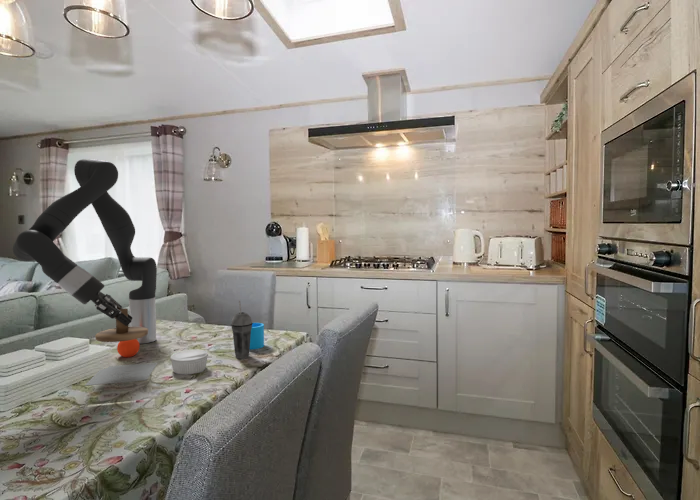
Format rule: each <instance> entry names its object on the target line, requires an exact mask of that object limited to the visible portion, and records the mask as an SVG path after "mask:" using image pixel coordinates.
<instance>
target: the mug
mask: <svg viewBox="0 0 700 500" xmlns="http://www.w3.org/2000/svg"><path fill="white" fill-rule="evenodd" d="M252 323H253V324H252V329H251V337H250V350H258V349H263V347H264V346H265V324H264V323H261V322H252Z"/></svg>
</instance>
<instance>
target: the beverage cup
mask: <svg viewBox="0 0 700 500" xmlns="http://www.w3.org/2000/svg"><path fill="white" fill-rule="evenodd" d="M238 307H239V312H238V313H236V314H235V315H233V317H232V319H231V324H230V327H231V331H232V337H233V339H232V340H233V346H234V347H233V348H234V354H235V358H236V359H239V360H242V359H243V360H244V359H248V358H249V357H250V352H251V351H250V350H251V349H250V337H251V329H252V324H253V323H254V322H253V319H252V317H251V316H250V315H249V314H248V313H247V312H242V307H241V299H239V300H238Z"/></svg>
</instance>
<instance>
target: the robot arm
mask: <svg viewBox="0 0 700 500" xmlns="http://www.w3.org/2000/svg"><path fill="white" fill-rule="evenodd" d="M73 172H74V176H75V179H76V181H77V184H78V185H79V186H80V187H78V188H77V189H75V190H74V191H71V192H70V193H67V194H66V195H64V196H61V197H60V198H58V199H56V200H55V201H53V202H52V203H51V204H49V206H47V208H45V209H44V211H43V212H42V213H40V215H39V216H38V217H37V218H36V220H35V222H34V223H33V224H32V226H31V227H30V228H28V230H24V231H22V232H20V233H19V234H18V235H17V237H16V239H15V241H14V243H13V245H12V252H13V254H14V256H15V257H16V258H17V259H18V260H20V261H23V262H33V261H35V262H37V264H39V265H40V266H41V270H42V272H43V273H44V275H45V276H47V277H48V278H50V280H52V281H54V282H55V283H56V284H57V285H59V286H60V287H61V289H63V290H64V291H65V292H66V293H67V294H70V296H72V297H73V298H74V299H75V300H77V301H78V302H80V304H82V305H87V304H88V303H89V302H92V303H93V304H94V307H95V309H96V310H97V311H100V312H101V313H102V314H104V315H106V316H107V317H109V318H110V319H113V320H116V319H117V320H119V321H120V322H121V323H123V324H124V325H125V326H128V327H145V328H147V329H148V334H147V335H146V336H144V337H141V338H138V342H139V344H140V345H141V344H148V343H152V342H154V341H157V314H156V313H157V312H156V310H157V309H156V293H157V271H158V270H157V262H156V260H155V259H154V258H153V257H150V256H148V257H143V256H140V257H138V256H137V257H136V256H134V254H133V251H132V249H131V247H132V243H133V242H134V238H135V235H136V227H135V225H134V222H133V221H132V218H131V216H130V214H129V213H128V211H127V210H126V209H125V208H124V207H123V205H121V204H120V203H119V202H118V201H116V200H115V199H114V198H113V197H112V196H111V195H110V193H109V192H108V191H109V190H111V189H112V188H113V187H114V186H115V185H116V183H117V182H118V179H119V171H118V168H117V167H116V165H115V164H114V163H113V162H111V161H107V160H101V159H94V158H93V159H91V158H83V159H80V160H78V161H76V163H75V164H74V171H73ZM90 205H92V208H93V209H94V211H95V213H96V215H97V217H98V219H99V220H100V222H101V225H102V227H103V229H104V231H105V232H104V233H106V236H107V238H108V240H109V241H110V243H111V244H112V247H113V250H114V251H115V254H116V256H117V259H118V262H119V264H120V267H121V268H120V269H121V271H122V274H123V275H124V277H125V278H126V279H127V280H129V281H131V282H132V281H133V282H135V281H137V282H141V285H140V286H139V287H138V288H135V289H132V290H130V291H129V293H128V305H129V309H128V311H129V313H128V317H127V316H126V315H125V314H123V313H122V312H121V311H120V310H119V309H123V308H124V307H123V306H122V304H120V303H119V302H118V301H116V300H115V299H114V297H112V296H111V295H110V294H108V293H106V294H105V293H103V292H101V291H102V290H103V289H104V288H105V284H104V283H103V282H101V281H100V280H99V279H97V277H95V276H93V275H92V274H91V273H90V272H88V270H86V269H85V268H82V267H80V266H79V265H78V264H77V263H75V262H74V261H73V260H72V259H70V258H69V257H68V256H66V255H65V254H64V253H63V251H62V250H61V249H60V248H59V247H58V246H57V244H56V243H55V242H54V241H55V240H56V239H57V237H58V236H59V235H60V234H61V233H63V232H64V231H65V229H67V227H68V226H70V224H71V223H72V222H73V221H74V219H75V218H76V217H78V216H79V215H80V214H81V213H82V212H83V211H84V210H85V209H87V208H88V207H89V206H90ZM121 313H122V314H121Z"/></svg>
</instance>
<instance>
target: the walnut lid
mask: <svg viewBox="0 0 700 500" xmlns="http://www.w3.org/2000/svg"><path fill="white" fill-rule="evenodd" d="M122 308H123V309H119V310H120V311H121V312H122V313H123V314H125V315H126V316H127V317H128V314H129V312H128V311H129V309H128V308H124V307H122ZM122 313H121V314H122ZM115 325H116V326H115V328H110V329H106V330H101V331H99V332H97V333H96V334H95V335H94V336H95V340H96V341H98V342H101V343H117V342H118V343H119V342H121V341H128V340H133V339H138V338H141V337H144V336H146V335H147V334H148V329H147V328H145V327H130V326H129V325H128V326H125V325H124V324H123V323H121V322H120V321H119V320H117V319H115Z"/></svg>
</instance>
